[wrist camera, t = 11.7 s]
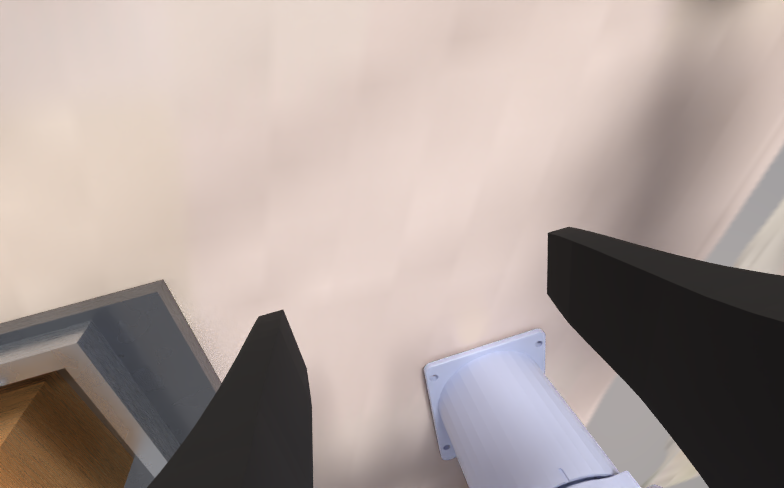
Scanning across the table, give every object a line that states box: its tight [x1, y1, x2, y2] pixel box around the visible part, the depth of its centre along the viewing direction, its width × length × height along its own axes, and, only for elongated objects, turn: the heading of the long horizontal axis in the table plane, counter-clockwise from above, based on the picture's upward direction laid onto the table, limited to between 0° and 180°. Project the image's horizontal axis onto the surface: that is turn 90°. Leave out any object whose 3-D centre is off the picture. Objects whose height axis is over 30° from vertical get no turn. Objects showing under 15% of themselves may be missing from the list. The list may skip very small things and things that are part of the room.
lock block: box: [0, 370, 134, 488], centre depth 17 cm, size 7×5×5 cm
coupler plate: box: [0, 280, 221, 488], centre depth 20 cm, size 12×16×2 cm
